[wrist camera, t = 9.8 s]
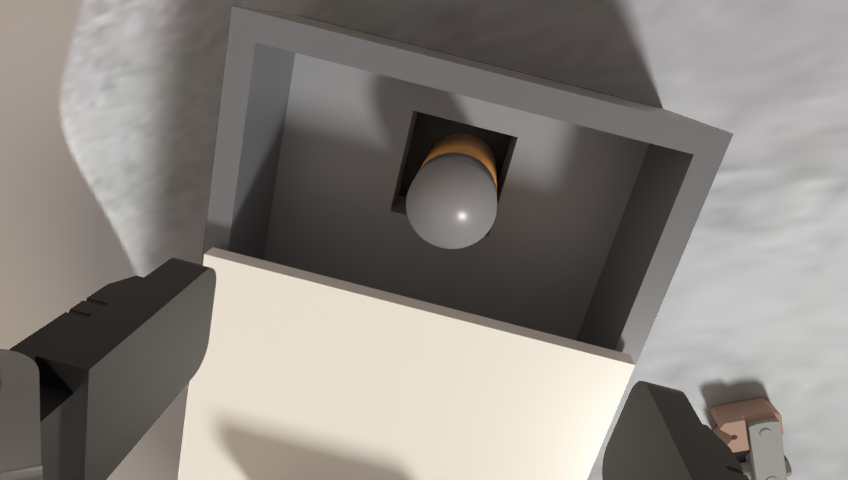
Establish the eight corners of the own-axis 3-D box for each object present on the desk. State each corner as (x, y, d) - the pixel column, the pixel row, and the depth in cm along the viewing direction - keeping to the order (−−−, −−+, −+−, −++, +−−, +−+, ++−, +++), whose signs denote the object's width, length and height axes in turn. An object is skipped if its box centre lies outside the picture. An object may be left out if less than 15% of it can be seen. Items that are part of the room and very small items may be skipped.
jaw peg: (433, 126, 29) (415, 151, 22) (504, 142, 29) (507, 172, 22) (419, 194, 30) (398, 237, 24) (487, 210, 30) (484, 258, 23)
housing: (298, 15, 28) (231, 5, 20) (663, 108, 28) (733, 133, 20) (253, 307, 33) (187, 386, 26) (559, 386, 33) (583, 489, 25)
